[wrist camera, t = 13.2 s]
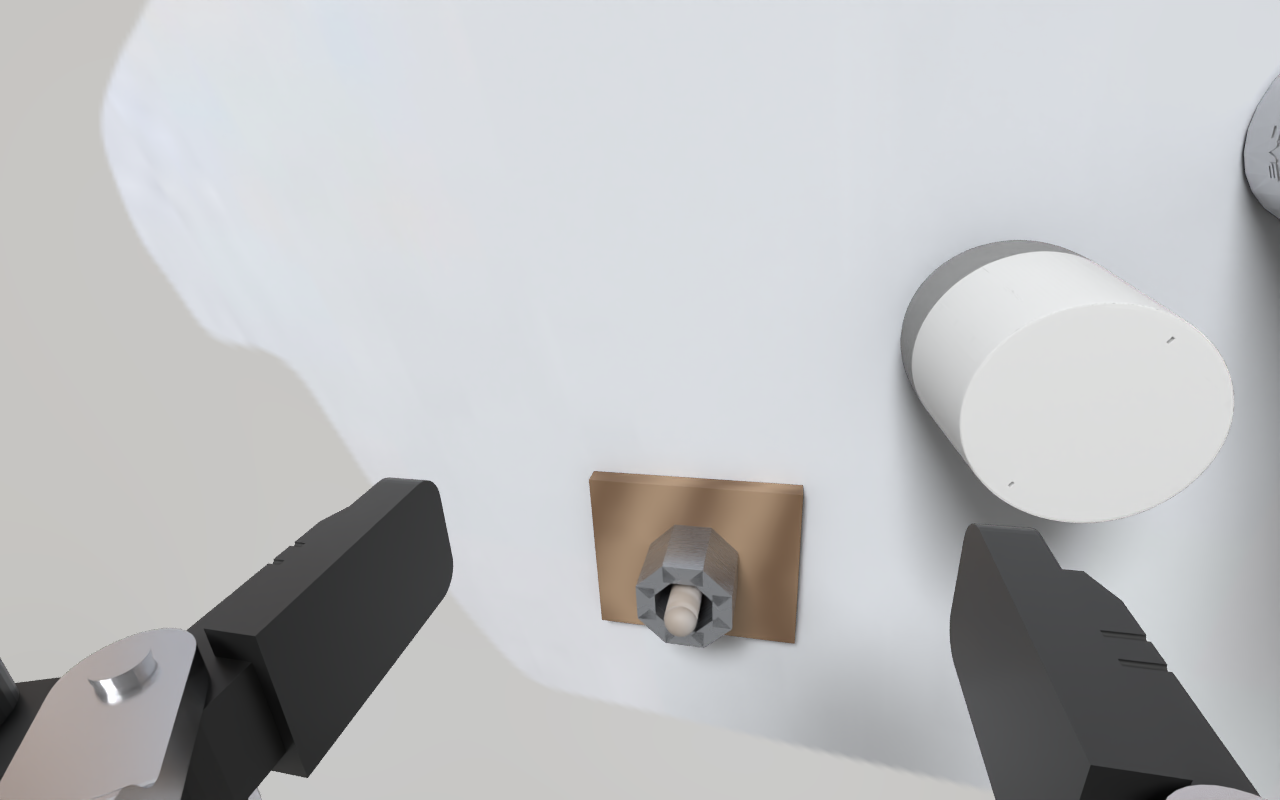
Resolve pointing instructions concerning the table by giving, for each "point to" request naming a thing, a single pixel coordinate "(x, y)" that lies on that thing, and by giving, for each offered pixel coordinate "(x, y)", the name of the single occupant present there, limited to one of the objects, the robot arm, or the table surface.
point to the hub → (689, 582)
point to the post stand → (736, 510)
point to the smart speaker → (1064, 382)
